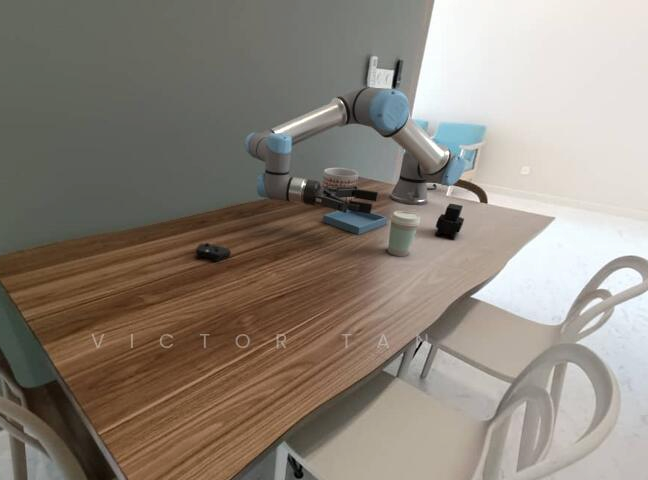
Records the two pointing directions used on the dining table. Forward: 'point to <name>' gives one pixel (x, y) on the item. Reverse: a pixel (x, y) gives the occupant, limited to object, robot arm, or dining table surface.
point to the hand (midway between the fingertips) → (374, 202)
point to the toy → (450, 221)
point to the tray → (355, 221)
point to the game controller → (212, 251)
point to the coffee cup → (402, 232)
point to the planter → (340, 179)
